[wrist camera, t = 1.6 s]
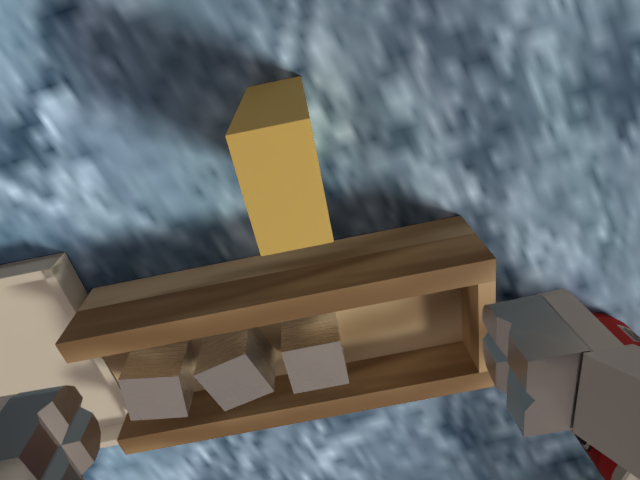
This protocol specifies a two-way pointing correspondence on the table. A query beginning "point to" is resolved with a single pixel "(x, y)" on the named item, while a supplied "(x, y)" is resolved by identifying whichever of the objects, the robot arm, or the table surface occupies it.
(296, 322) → the grey cubic block
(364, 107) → the table surface
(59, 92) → the table surface
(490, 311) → the robot arm
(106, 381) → the tray
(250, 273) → the open wooden box
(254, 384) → the grey piece
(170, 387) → the grey and brown cube
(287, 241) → the block
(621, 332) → the canned food
